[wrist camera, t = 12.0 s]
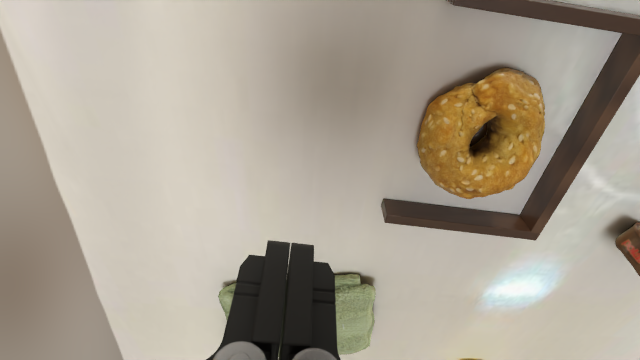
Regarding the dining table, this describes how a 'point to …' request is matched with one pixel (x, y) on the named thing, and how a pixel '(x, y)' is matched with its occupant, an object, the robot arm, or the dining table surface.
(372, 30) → the dining table surface
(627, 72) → the bay
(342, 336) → the washcloth
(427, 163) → the bagel
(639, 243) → the tin
